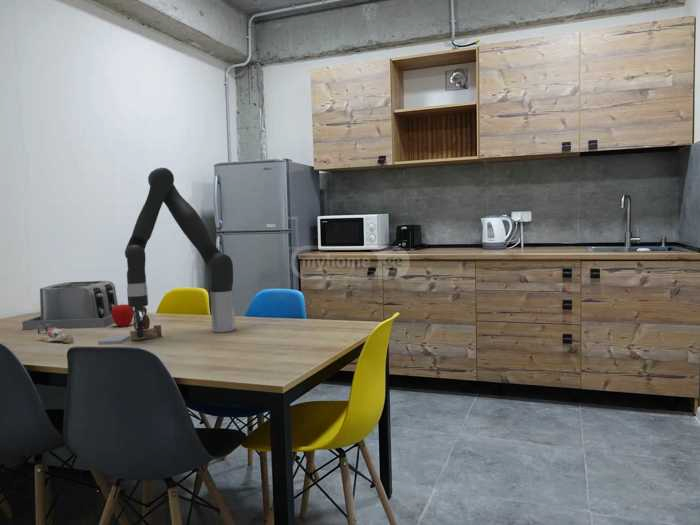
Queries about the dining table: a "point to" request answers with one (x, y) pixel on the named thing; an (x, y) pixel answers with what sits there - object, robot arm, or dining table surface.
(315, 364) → the dining table surface
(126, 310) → the apple
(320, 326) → the dining table surface
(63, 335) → the figurine
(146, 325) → the wooden figurine
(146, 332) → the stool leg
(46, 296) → the toaster
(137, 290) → the robot arm
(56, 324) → the toaster tray
